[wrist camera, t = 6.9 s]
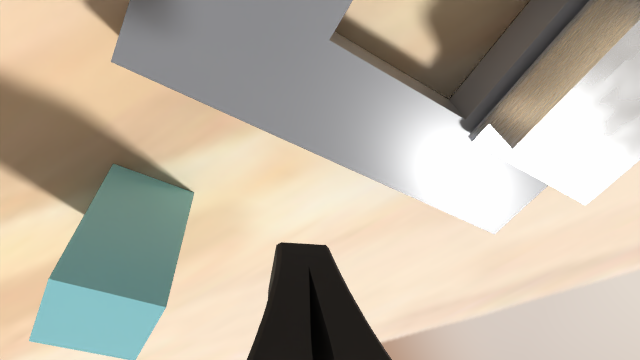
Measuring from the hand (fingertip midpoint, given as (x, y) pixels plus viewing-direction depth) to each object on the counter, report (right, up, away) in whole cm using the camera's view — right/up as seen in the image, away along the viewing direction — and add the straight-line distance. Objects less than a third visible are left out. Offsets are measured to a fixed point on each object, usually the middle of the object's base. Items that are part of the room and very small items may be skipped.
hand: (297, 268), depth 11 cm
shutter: (+12, +6, +6) cm, 15 cm away
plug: (-9, +1, +10) cm, 13 cm away
